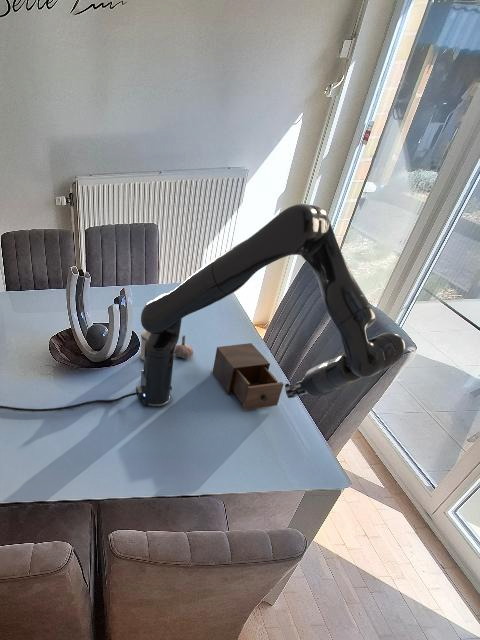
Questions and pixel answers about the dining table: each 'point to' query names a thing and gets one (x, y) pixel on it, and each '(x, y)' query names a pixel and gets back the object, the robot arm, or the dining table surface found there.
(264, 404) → the drawer
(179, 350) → the garlic bulb
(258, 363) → the cabinet
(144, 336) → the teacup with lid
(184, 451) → the dining table surface
